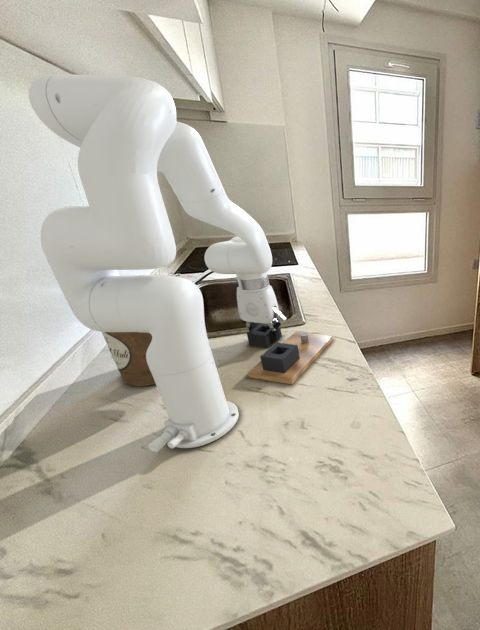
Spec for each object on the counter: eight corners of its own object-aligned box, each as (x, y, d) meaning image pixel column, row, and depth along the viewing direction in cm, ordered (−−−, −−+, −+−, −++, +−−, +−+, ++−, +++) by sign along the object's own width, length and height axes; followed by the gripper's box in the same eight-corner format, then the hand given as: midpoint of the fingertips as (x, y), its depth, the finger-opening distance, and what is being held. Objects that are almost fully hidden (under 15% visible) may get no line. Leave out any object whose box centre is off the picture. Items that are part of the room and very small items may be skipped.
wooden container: (124, 365, 86) (88, 285, 76) (191, 347, 94) (167, 273, 84) (121, 395, 75) (80, 306, 65) (198, 372, 83) (171, 291, 74)
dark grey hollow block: (267, 348, 94) (265, 335, 93) (249, 345, 95) (246, 333, 94) (282, 336, 101) (279, 324, 99) (264, 334, 102) (262, 322, 100)
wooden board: (292, 384, 80) (289, 370, 78) (248, 377, 82) (245, 364, 80) (332, 340, 99) (331, 328, 97) (296, 335, 101) (294, 324, 99)
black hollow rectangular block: (284, 373, 81) (282, 359, 79) (263, 369, 82) (260, 356, 80) (299, 358, 87) (297, 345, 86) (279, 355, 88) (277, 342, 87)
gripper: (216, 283, 88) (231, 342, 96) (273, 289, 85) (284, 349, 93) (235, 275, 95) (248, 330, 103) (290, 280, 92) (299, 337, 100)
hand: (265, 339), depth 98 cm, fingers closed on dark grey hollow block, 6 cm apart
